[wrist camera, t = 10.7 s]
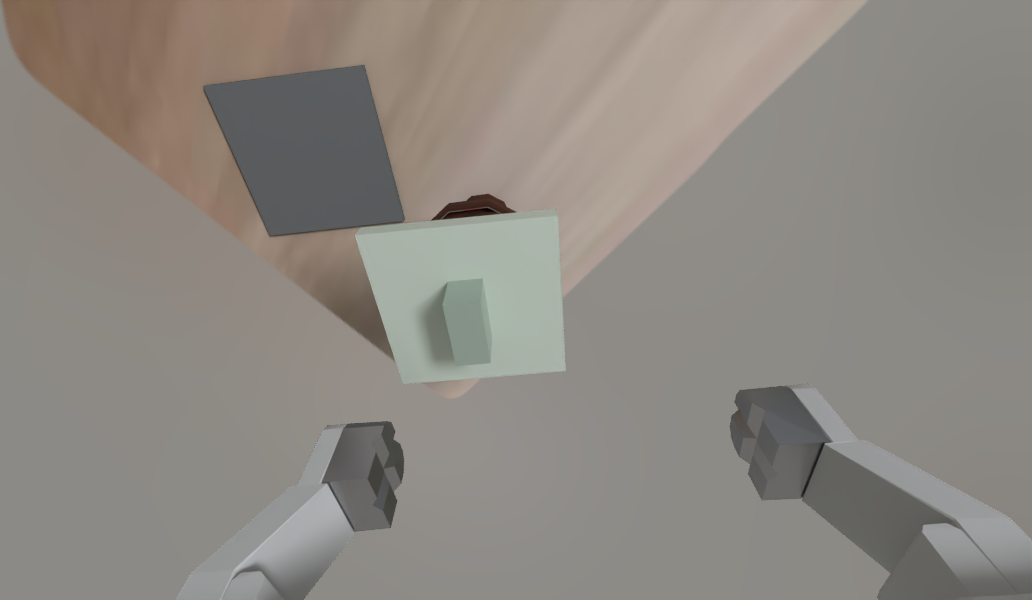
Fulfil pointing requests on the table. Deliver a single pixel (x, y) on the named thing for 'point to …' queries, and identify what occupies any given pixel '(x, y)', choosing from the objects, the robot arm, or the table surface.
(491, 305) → the lid
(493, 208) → the ice cream bowl
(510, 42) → the table surface
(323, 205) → the mat
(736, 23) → the table surface
